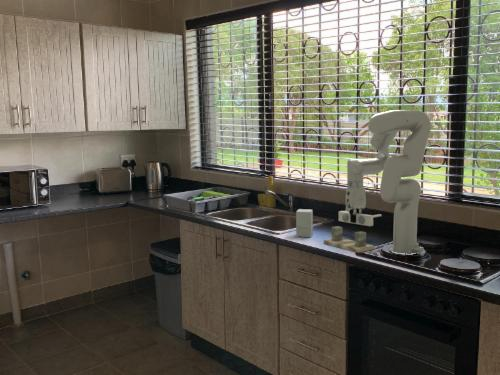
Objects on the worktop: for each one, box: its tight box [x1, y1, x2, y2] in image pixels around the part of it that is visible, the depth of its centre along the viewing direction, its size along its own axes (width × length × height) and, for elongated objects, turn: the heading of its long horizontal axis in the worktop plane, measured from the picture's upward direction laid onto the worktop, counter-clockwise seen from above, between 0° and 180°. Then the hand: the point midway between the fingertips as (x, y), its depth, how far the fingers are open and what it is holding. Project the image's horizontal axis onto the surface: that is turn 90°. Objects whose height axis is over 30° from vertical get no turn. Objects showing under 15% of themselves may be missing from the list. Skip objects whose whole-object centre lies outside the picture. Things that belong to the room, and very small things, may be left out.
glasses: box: [338, 210, 382, 227], centre depth 244 cm, size 20×9×5 cm, turn 36°
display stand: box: [323, 225, 375, 254], centre depth 224 cm, size 21×10×8 cm, turn 36°
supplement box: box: [295, 208, 314, 238], centre depth 246 cm, size 7×7×13 cm
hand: (355, 221), depth 243 cm, fingers closed on glasses, 2 cm apart
